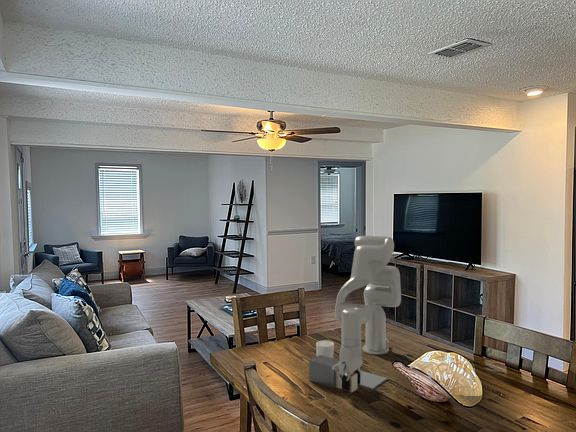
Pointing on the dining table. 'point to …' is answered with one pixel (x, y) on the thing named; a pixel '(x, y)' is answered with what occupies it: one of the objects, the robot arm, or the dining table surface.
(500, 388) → the dining table surface
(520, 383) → the dining table surface
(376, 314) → the robot arm
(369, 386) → the mat
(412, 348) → the dining table surface
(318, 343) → the white cup
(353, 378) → the beige block
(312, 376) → the dispenser
